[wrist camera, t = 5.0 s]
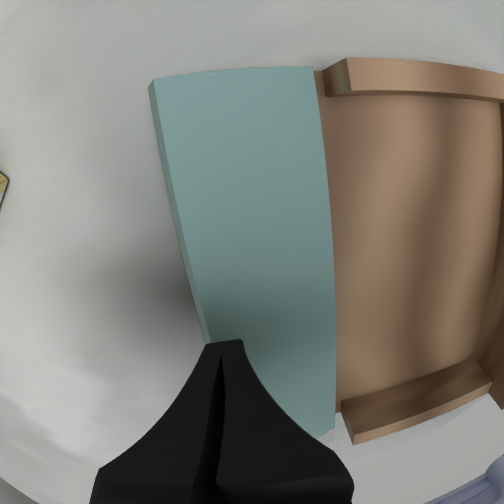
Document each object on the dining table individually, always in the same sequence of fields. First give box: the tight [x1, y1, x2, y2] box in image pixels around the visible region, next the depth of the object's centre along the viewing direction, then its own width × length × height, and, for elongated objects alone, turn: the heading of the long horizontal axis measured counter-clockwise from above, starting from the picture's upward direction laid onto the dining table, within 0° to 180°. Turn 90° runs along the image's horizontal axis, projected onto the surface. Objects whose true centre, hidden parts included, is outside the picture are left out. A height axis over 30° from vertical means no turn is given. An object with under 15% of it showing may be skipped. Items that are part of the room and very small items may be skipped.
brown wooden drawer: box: [313, 58, 504, 445], centre depth 14 cm, size 13×20×6 cm, turn 9°
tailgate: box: [148, 67, 336, 439], centre depth 14 cm, size 1×20×6 cm
